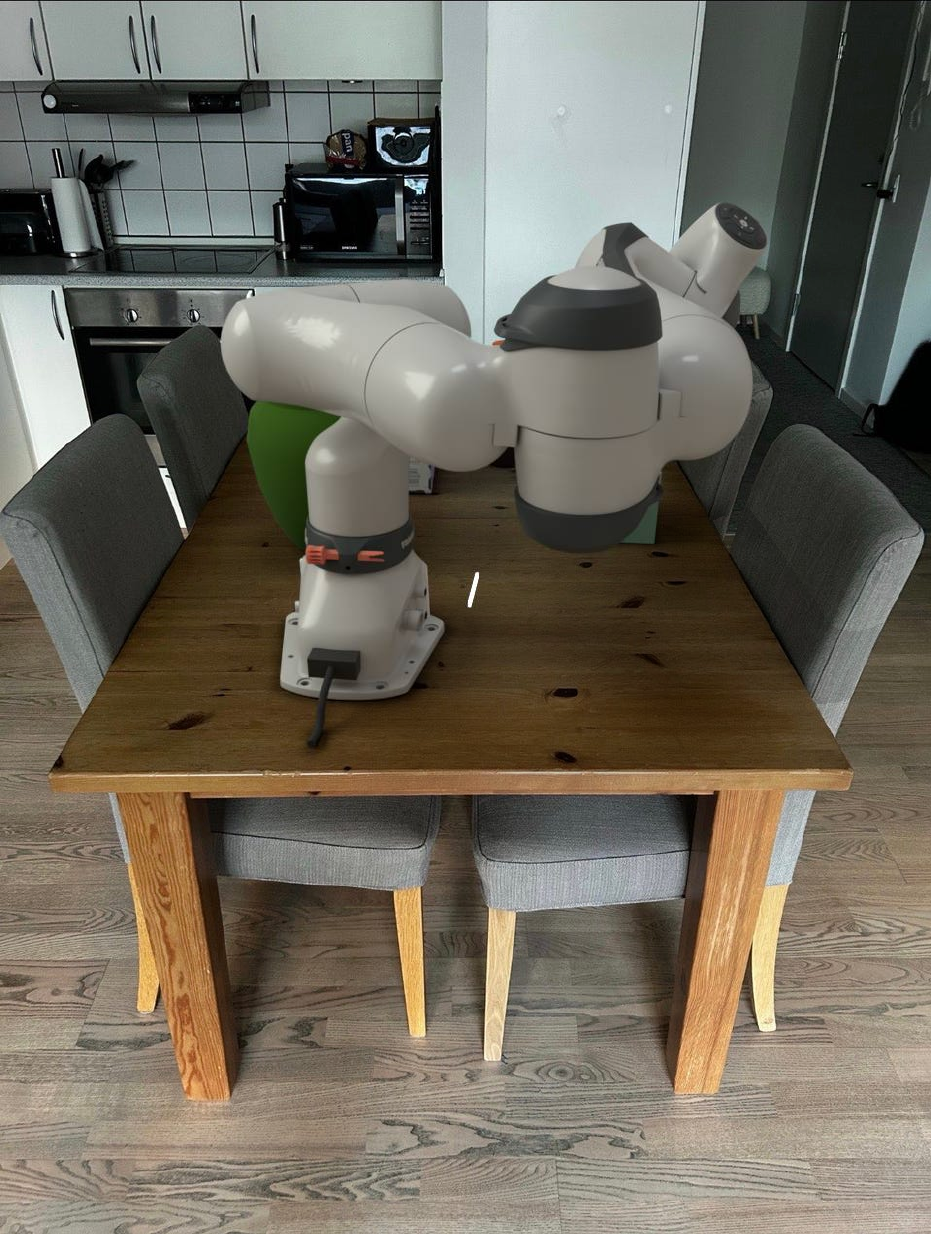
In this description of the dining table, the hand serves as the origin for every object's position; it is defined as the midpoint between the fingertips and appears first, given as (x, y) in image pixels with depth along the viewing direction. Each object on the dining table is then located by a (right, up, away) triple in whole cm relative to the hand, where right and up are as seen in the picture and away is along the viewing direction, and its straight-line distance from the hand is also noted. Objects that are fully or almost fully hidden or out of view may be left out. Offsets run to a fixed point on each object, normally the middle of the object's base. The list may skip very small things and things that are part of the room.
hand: (612, 372), depth 130 cm
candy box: (-28, -11, +27) cm, 40 cm away
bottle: (-13, -7, +34) cm, 38 cm away
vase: (-39, -23, +4) cm, 46 cm away
